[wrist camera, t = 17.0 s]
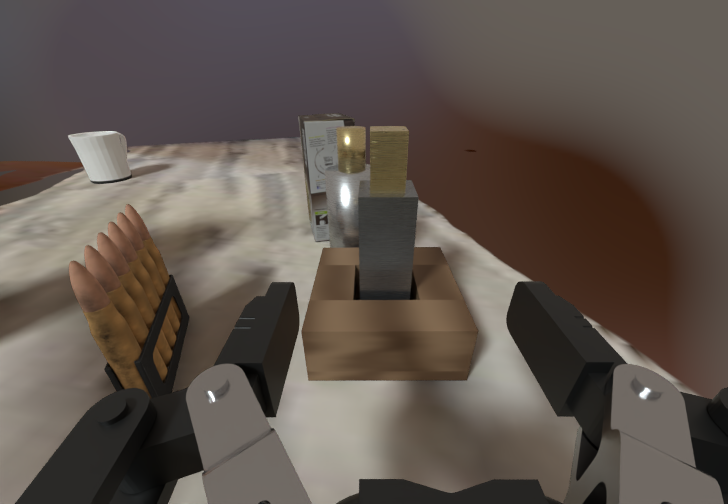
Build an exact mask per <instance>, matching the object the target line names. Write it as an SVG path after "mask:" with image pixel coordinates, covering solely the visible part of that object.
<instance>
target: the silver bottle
mask: <svg viewBox="0 0 728 504" xmlns="http://www.w3.org/2000/svg"><path fill="white" fill-rule="evenodd" d="M336 133H337V153H338V165H333V166H330V167H328V168H326V169H325V183H326V196H327V210H328V224H329V238H330V248H359V219H358V194H359V185H360V180H370V165H369V164H366V162H365V127H360V126H344V127H337V128H336Z"/></svg>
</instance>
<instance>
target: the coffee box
mask: <svg viewBox="0 0 728 504" xmlns="http://www.w3.org/2000/svg"><path fill="white" fill-rule="evenodd" d="M298 118H299V127H300V137H301V146H302V155H303V164H304V174H305V183H306V192H307V201H308V210H309V219H310V223H311V227H312V231H313V235H314V239H315V241H325V240H330V238H329V224H328V210H327V196H326V183H325V169H326V168H328V167H330V166H333V165H338V153H337V133H336V128H337V127H344V126H354V121H355V119H354V118H351V117H348V116H346V115H343V114H315V115H303V116H298Z"/></svg>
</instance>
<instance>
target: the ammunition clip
mask: <svg viewBox="0 0 728 504" xmlns="http://www.w3.org/2000/svg"><path fill="white" fill-rule="evenodd" d="M125 215H126V216H125ZM125 215H124V214H123V213H121V212H120V213H118V216H117V224H118V226H117V225H116V224H115V223H114V222H109V224H108V235H109V237H108V236H106V235H105V234H104V233H102V232H101V233H98V237H97V244H98V251H99V252H98V251H97V250H96V249H94V248H93V247H91V246H89V245H88V246H86V247H85V252H84V256H85V263H86V268H87V269H86V268H85V267H84V266H82V265H81V264H79V263H78V262H76V261H71V262H70V264H69V275H70V281H71V285H72V288H73V291H74V293H75V296H76V298H77V300H78V302H79V304H80V306H81V308H82V309H83V313H84V315H85V317H86V319H87V321H88V323H89V327H90V331H91V334H92V336H93V338H94V340H95V341H96V343H97V345H98V346H99V348H100V350H101V351H102V353H103V355H104V356H105V358H106V360H107V361H108V363H107V365H106V367H105V372H106V373H107V375H108V377H109V378H110V380H111V382H112V384H113V385H114V387H115V389H116V391H120V390H123V389H128V388H139V389H142V390H144V391H145V392H147V394H148V396H149V397H150V399H151V398H154V397H158V396H162V395H165V394H169V393H172V388H173V384H174V380H175V376H176V371H177V367H178V363H179V359H180V355H181V350H182V346H183V342H184V338H185V333H186V329H187V325H188V321H189V315H188V313H187V310H186V308H185V305H184V303H183V300H182V298H181V295H180V293H179V290H178V288H177V285H176V283H175V280H174V278H173V275H169V274H168V272H167V269H166V267H165V264H164V262H163V259H162V257H161V254H160V252H159V250H158V249H157V247H156V246H155V244H154V242H153V240H152V238H151V236H150V235H149V232H148V230H147V227H146V226H145V224H144V222H143V220H142V218H141V217H140V215H139V214H138V213H137V211H136V210H135V209H134V208H133V207H132V206H131V205H129V204H127V205H126V209H125Z"/></svg>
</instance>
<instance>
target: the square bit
mask: <svg viewBox="0 0 728 504" xmlns="http://www.w3.org/2000/svg"><path fill="white" fill-rule="evenodd" d="M408 137H409V131H408V130H407V128H406V127H405V126H395V127H394V126H393V127H392V126H387V127H385V126H382V127H370V180H360V185H359V194H358V219H359V273H360V300H410V292H411V280H412V268H413V256H414V244H415V232H416V220H417V208H418V195H417V193H416V190H415V188H414V186H413V183H412V181H411V180H406V170H407V169H406V168H407V154H408Z"/></svg>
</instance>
